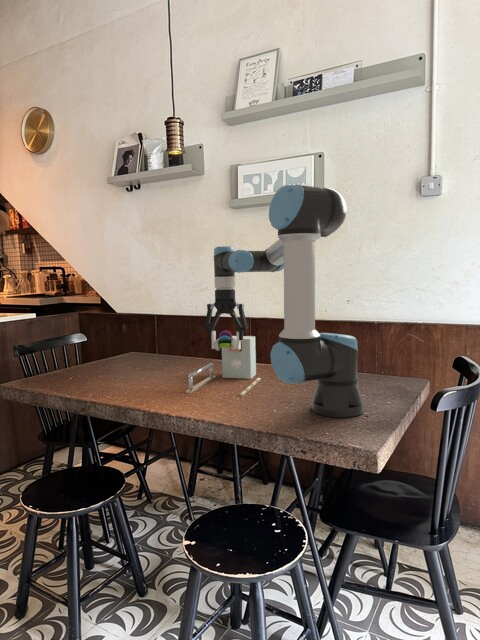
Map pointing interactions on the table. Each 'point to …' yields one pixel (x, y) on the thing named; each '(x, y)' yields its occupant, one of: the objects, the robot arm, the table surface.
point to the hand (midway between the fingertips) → (226, 348)
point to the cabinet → (240, 360)
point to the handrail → (193, 388)
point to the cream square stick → (250, 387)
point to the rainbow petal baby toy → (225, 341)
